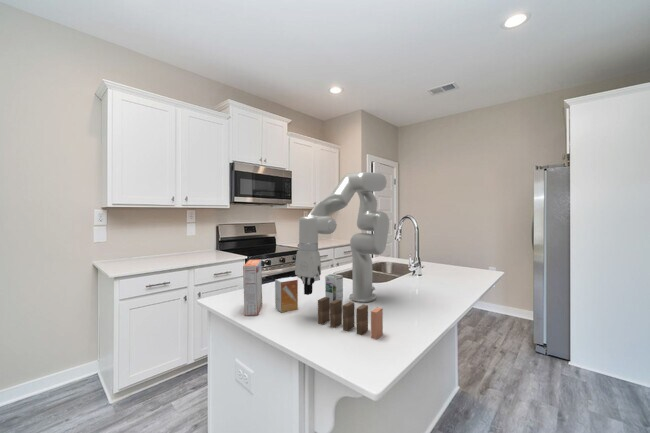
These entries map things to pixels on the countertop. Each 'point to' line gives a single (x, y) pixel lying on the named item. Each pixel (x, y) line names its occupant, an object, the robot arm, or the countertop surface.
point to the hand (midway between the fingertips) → (308, 293)
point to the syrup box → (334, 287)
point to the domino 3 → (348, 316)
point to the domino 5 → (376, 323)
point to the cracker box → (252, 287)
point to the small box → (286, 294)
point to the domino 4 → (361, 319)
